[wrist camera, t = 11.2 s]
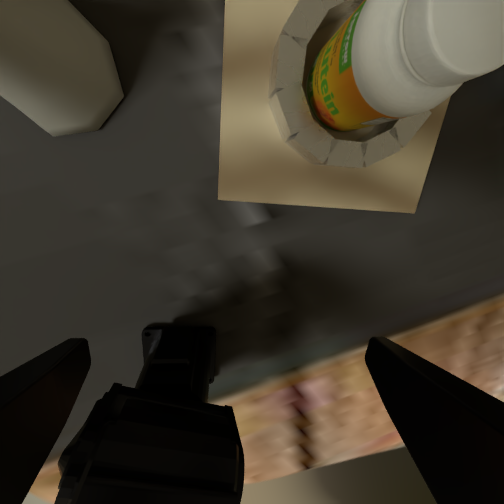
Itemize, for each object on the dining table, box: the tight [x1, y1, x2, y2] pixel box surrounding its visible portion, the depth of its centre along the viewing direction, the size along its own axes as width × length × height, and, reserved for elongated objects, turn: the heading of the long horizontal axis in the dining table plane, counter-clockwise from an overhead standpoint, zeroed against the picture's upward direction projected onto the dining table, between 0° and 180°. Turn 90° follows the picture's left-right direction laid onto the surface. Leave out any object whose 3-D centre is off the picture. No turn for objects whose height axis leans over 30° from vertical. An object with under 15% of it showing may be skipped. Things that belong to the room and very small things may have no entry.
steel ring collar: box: [268, 0, 434, 168], centre depth 15 cm, size 10×10×2 cm
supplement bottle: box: [306, 0, 504, 132], centre depth 12 cm, size 5×5×10 cm
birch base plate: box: [218, 0, 451, 213], centre depth 17 cm, size 16×16×1 cm
